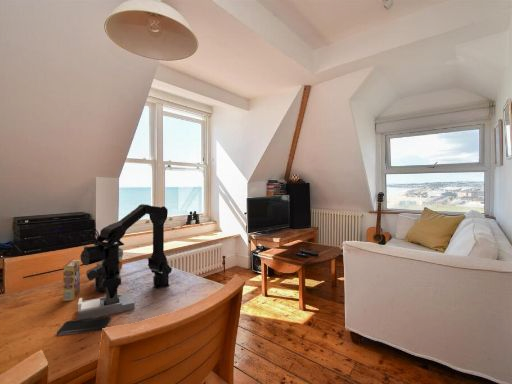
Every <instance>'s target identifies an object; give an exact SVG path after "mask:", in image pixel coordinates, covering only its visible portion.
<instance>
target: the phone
mask: <svg viewBox="0 0 512 384" xmlns="http://www.w3.org/2000/svg"><path fill="white" fill-rule="evenodd" d="M111 320H112V316H110V315H109V316H99V317H95V318H90V319H81V320H78V319H73V320H68V321H65V322H64V323H63V324H62V326H61V327H60V328H58V330H57V331H56V335H57V336H62V335H63V336H66V335H71V334H72V335H73V334H82V333H89V332H97V331H103V330H102V328H105V327H107V328H108V326H109V324H110V323H111Z"/></svg>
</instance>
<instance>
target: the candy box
mask: <svg viewBox="0 0 512 384" xmlns="http://www.w3.org/2000/svg"><path fill="white" fill-rule="evenodd" d="M62 268H63V276H62V278H63V279H62V281H63V282H62V301H63V302H67V301H74V300H75V298H76V297H77V296H78V294H79V293H80V292H81V289H80V288H81V287H80V286H81V259H74V260H69V261H68V262H66V264H65V265H63V267H62Z"/></svg>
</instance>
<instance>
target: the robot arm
mask: <svg viewBox="0 0 512 384" xmlns="http://www.w3.org/2000/svg"><path fill="white" fill-rule="evenodd" d="M168 210H169V209H168V208H167V207H166V206H161V205H150V204H146V203H145V204H144V203H143V204H142V203H141V204H139V205H138V206H137V207H136V208H134V209H133V210H132V211H130V213H128V214H126V215H125V216H124V217H122V218H121V219H120V220H118V221H117V222H114V223H111V224H108V225H106V226H105V227H103V228H102V229H100V234H99V235H98V237H97V238H96V239H95V241H94V243H93V245H87V246H84V247H83V250H82V251H81V254H80V255H79V257H80V263H81V264H83V266H89V265H93V264H97V262H100V261H102V260H103V261H102V264H101V265H99V266H97V265H96V266H94V267H91V268H89V269H87V270H86V273H85V274H86V278H87V279H88V281H94V280H95V278H97V277H99V276H101V275H102V277H103V280H102V287H103V288H106V287H107V288H108V292H109V295H110V298H113V297H114V295H115V293H116V291H117V292H118V288H119V286H121V285H122V276H121V272H120V270H119V264H120V261H119V248H120V247H122V246H124V245H125V243H124V242H123V241H121V239H122V238H123V237H125V234H126V233H127V230H129V228H130V227H133V225H135V224H136V223H137V222H138V221H140V220H141V219H142V218H143V217H144V216H146V215H149V219H150V222H151V223H152V254H151V255H150V257H148V258H147V262H148V263H147V266H148V268H149V270H150V271H151V273H153V276H152V281H153V283H152V284H153V286H154V288H155V289H159V288H164V287H169V286H170V283H169V275H170V274H171V273H172V270H173V268H172V267H171V266H170V265H169V264H168V259H167V257H166V254H165V252H164V249H165V247H164V246H165V244H164V242H165V241H164V239H165V234H164V233H165V230H164V229H165V226H164V225H165V223H166V221H167V219H168V213H169V211H168ZM119 274H120V276H119Z"/></svg>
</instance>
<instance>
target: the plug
mask: <svg viewBox="0 0 512 384" xmlns="http://www.w3.org/2000/svg"><path fill="white" fill-rule="evenodd" d="M117 294H118V290H117V291H116V293H115V295H114V297H113V298H110V295H109V292H108V288H107V287H106V292H105V297H106V305H111V304H116V303H118V301H117Z"/></svg>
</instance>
